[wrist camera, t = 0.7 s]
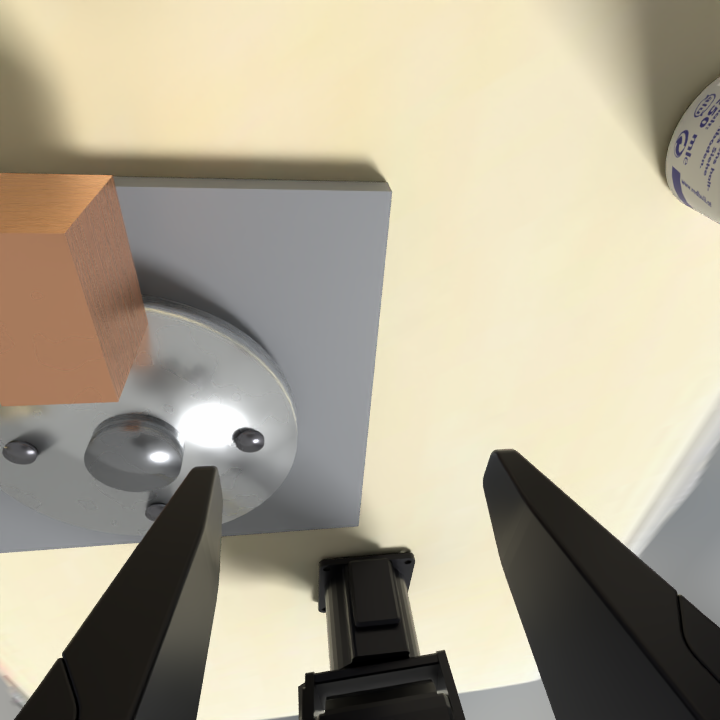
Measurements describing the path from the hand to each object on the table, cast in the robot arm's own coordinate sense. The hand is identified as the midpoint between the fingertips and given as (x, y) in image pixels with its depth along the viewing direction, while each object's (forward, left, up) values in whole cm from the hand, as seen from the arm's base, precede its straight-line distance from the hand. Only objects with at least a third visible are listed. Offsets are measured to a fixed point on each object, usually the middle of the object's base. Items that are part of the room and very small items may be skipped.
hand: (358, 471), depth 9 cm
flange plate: (-6, +8, -10) cm, 14 cm away
